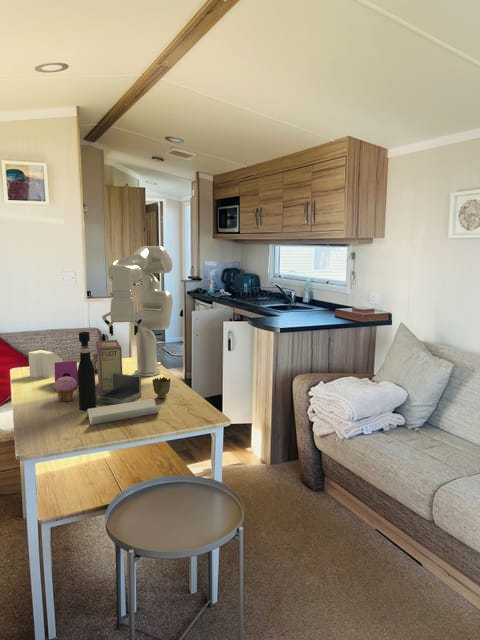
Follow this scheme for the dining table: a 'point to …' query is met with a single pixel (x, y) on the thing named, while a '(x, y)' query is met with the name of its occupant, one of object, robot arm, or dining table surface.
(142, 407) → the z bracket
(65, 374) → the mounting bracket
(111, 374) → the box
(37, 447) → the dining table surface
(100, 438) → the dining table surface
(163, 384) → the cup
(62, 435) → the dining table surface
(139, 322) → the robot arm
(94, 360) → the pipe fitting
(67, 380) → the cupcake
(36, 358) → the corner bracket
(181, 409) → the dining table surface
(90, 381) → the wine bottle
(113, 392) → the tray
